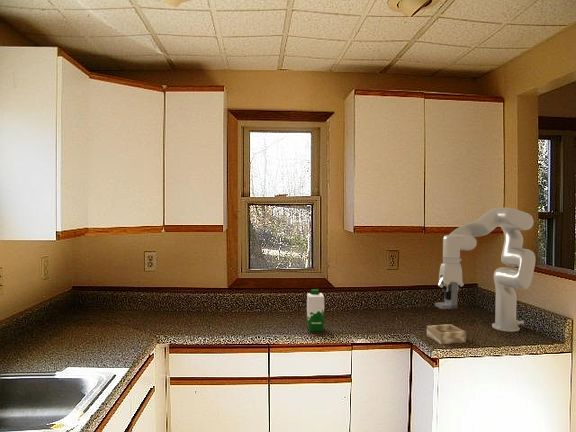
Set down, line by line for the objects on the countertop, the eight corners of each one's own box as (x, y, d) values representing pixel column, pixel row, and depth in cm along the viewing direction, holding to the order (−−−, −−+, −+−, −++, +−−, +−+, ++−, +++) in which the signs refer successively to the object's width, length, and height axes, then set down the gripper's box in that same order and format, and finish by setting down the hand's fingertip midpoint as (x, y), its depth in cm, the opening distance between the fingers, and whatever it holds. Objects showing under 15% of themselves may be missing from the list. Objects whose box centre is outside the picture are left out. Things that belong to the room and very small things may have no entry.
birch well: (450, 334, 198) (450, 324, 198) (465, 342, 186) (466, 331, 186) (426, 335, 195) (426, 325, 195) (440, 344, 184) (440, 333, 184)
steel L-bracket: (449, 305, 194) (450, 280, 194) (457, 308, 188) (457, 282, 188) (434, 305, 193) (435, 281, 192) (442, 309, 187) (442, 283, 186)
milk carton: (322, 326, 211) (322, 288, 211) (325, 331, 202) (325, 292, 202) (306, 326, 210) (306, 289, 210) (308, 332, 201) (308, 292, 201)
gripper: (461, 259, 196) (461, 296, 196) (431, 260, 192) (430, 298, 193) (471, 261, 188) (470, 300, 189) (440, 262, 185) (439, 301, 185)
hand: (450, 298), depth 191 cm, fingers closed on steel L-bracket, 3 cm apart
